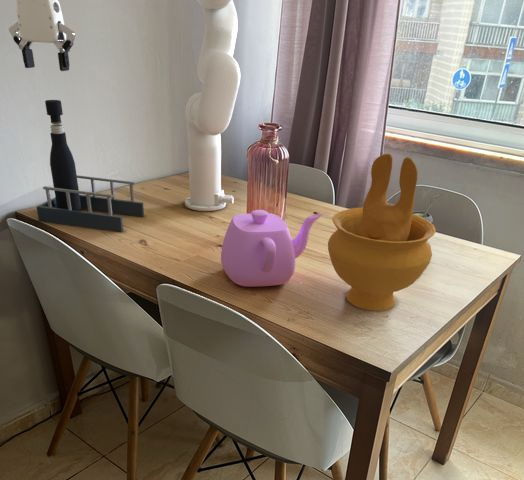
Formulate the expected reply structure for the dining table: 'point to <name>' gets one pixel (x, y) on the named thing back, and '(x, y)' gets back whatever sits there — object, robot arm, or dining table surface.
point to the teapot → (262, 248)
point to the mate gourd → (425, 214)
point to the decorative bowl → (381, 240)
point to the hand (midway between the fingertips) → (47, 69)
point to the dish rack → (91, 208)
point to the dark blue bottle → (61, 159)
